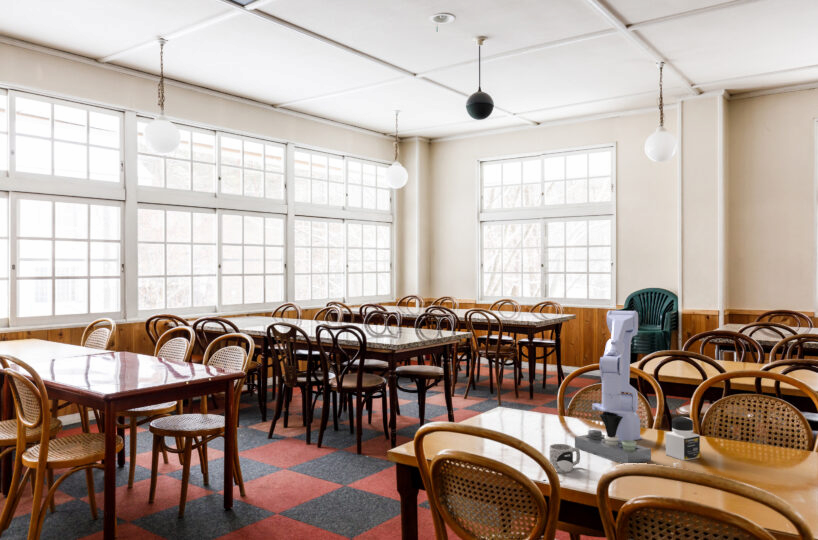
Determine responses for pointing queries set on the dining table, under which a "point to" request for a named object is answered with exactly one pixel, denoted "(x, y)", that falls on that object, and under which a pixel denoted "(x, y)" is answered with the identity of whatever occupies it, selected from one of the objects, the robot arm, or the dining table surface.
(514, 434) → the dining table surface
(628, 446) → the sage key
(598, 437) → the grey rounded knob
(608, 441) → the ivory key
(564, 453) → the mug
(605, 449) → the key console
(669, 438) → the medicine bottle
